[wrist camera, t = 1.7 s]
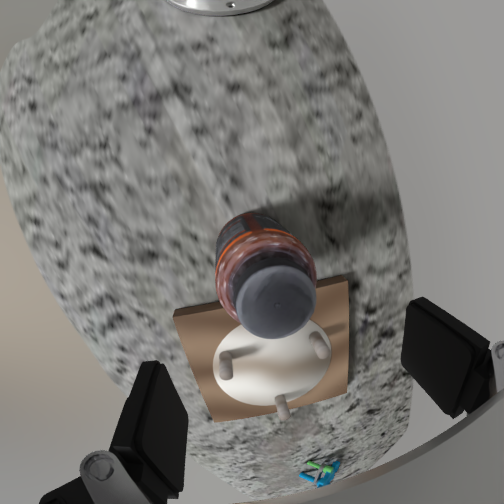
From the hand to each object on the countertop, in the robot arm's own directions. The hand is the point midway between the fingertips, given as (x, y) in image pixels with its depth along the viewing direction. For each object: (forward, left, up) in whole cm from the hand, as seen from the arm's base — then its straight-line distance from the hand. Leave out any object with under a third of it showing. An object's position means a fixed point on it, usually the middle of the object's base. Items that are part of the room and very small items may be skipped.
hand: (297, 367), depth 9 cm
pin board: (+11, 0, -15) cm, 19 cm away
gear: (+41, +5, -16) cm, 44 cm away
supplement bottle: (-1, 0, -16) cm, 16 cm away
